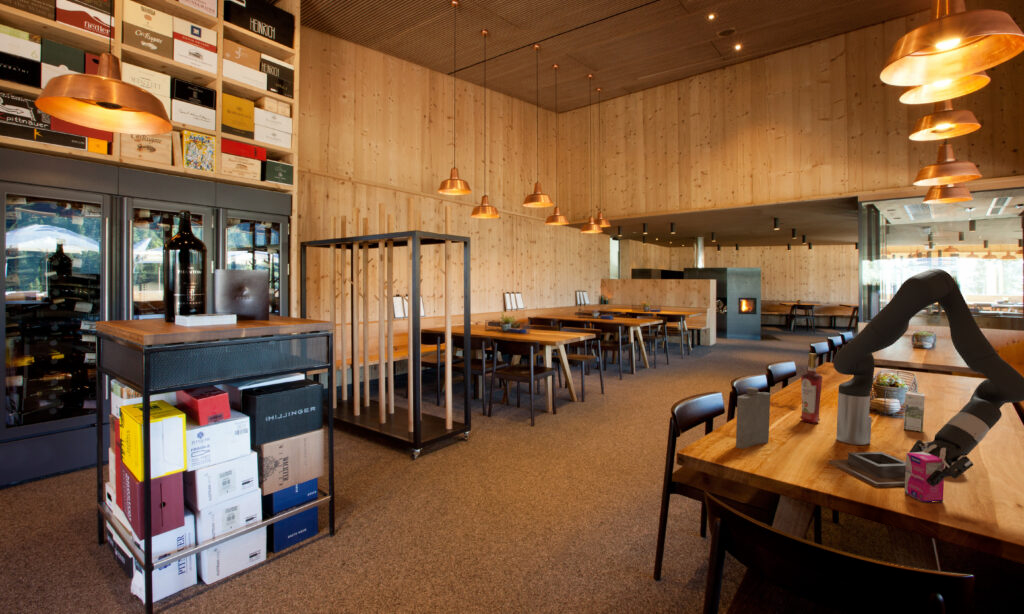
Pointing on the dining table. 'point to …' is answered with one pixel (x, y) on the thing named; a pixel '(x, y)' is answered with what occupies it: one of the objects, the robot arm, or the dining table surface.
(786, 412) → the dining table surface
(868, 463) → the socket
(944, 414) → the dining table surface
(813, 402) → the liquor
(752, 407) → the hip flask
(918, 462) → the supplement box
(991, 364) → the robot arm
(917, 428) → the syrup box
